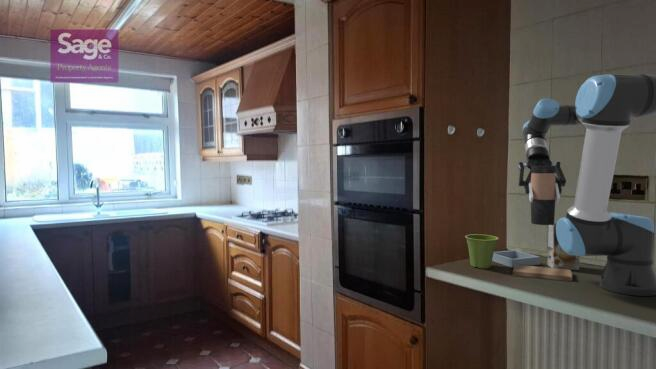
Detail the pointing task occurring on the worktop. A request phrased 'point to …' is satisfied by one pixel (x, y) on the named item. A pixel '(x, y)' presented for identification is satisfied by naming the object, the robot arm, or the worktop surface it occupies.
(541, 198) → the travel mug
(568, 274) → the walnut board
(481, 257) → the plant pot
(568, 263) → the coffee box
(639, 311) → the worktop surface
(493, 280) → the worktop surface
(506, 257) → the holder frame
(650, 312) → the worktop surface
